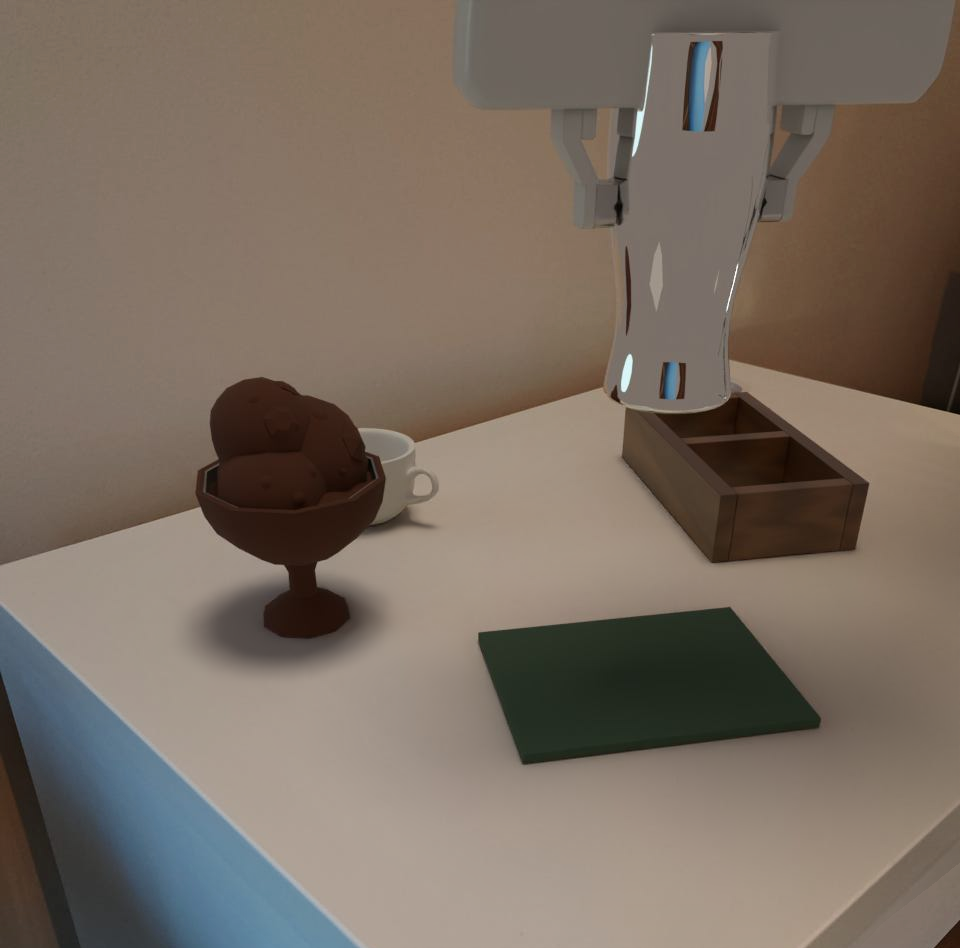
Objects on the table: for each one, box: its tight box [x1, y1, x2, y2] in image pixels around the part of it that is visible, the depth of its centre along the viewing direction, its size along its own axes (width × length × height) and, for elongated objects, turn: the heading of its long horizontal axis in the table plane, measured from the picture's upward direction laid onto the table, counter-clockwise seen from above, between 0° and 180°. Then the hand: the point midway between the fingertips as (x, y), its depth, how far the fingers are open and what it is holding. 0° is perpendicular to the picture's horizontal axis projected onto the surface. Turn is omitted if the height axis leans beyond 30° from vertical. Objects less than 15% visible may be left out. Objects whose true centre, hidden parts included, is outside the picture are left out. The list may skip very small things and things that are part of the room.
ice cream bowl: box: [194, 376, 386, 639], centre depth 59 cm, size 11×11×15 cm
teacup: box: [357, 427, 440, 526], centre depth 74 cm, size 10×8×5 cm
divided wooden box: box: [621, 391, 870, 563], centre depth 76 cm, size 11×20×5 cm, turn 11°
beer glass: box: [602, 31, 782, 414], centre depth 44 cm, size 7×7×15 cm
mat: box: [477, 606, 822, 764], centre depth 56 cm, size 16×12×1 cm
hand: (683, 223), depth 44 cm, fingers closed on beer glass, 7 cm apart
